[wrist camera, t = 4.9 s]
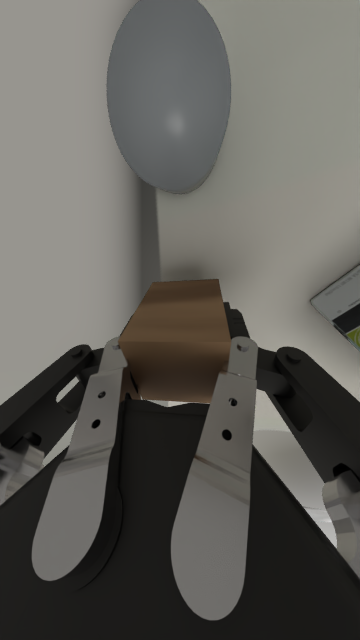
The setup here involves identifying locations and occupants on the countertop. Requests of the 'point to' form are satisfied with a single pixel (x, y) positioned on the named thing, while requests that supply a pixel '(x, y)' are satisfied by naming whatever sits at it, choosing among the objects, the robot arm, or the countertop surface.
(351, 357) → the countertop surface
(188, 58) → the grey egg shape
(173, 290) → the walnut block
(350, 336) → the tea box
